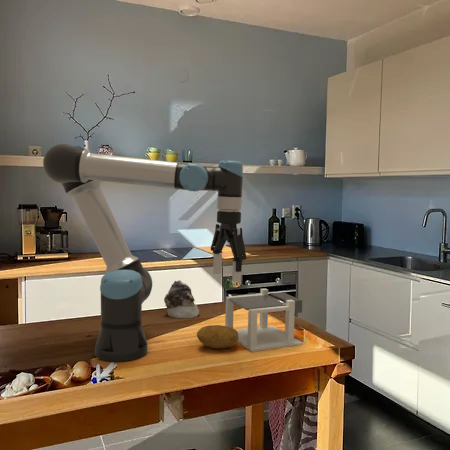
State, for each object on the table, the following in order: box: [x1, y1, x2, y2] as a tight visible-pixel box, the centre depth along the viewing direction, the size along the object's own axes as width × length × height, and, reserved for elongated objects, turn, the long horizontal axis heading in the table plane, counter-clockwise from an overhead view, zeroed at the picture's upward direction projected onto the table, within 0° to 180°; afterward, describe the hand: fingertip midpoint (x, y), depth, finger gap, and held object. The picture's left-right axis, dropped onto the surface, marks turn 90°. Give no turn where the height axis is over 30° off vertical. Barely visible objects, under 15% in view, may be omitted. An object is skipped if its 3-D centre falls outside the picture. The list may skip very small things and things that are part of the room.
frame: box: [224, 288, 304, 353], centre depth 154 cm, size 18×20×14 cm
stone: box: [163, 279, 200, 319], centre depth 179 cm, size 14×10×15 cm
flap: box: [229, 292, 303, 314], centre depth 154 cm, size 20×14×4 cm
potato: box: [196, 324, 239, 350], centre depth 145 cm, size 9×13×7 cm
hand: (226, 277), depth 151 cm, fingers open, 13 cm apart
